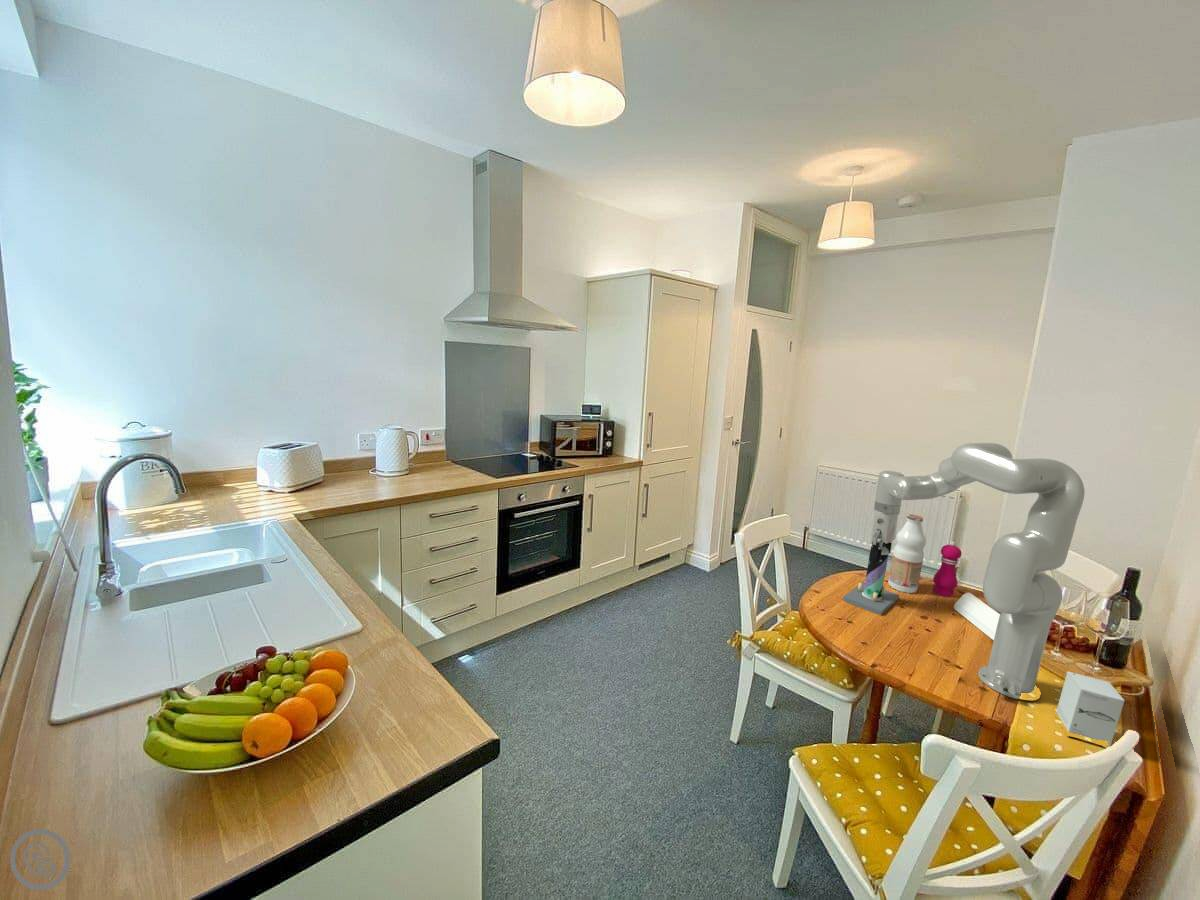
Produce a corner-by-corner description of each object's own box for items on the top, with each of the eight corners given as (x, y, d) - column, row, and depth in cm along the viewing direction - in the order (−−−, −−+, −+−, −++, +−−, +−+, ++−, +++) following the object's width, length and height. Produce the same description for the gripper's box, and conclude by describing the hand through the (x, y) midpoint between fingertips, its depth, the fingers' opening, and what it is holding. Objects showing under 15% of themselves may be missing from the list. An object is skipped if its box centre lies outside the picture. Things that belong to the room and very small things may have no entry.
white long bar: (945, 596, 163) (997, 636, 140) (966, 588, 162) (1022, 627, 138) (953, 614, 164) (1005, 657, 141) (974, 606, 163) (1030, 648, 139)
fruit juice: (887, 588, 175) (900, 516, 169) (887, 579, 183) (899, 510, 177) (917, 596, 170) (931, 522, 164) (916, 586, 178) (930, 515, 172)
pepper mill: (959, 598, 169) (970, 546, 165) (936, 596, 171) (947, 544, 167) (948, 589, 176) (959, 539, 172) (927, 586, 178) (937, 536, 174)
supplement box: (1066, 737, 107) (1079, 688, 104) (1053, 716, 113) (1066, 669, 111) (1110, 751, 103) (1126, 700, 101) (1095, 728, 110) (1109, 680, 107)
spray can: (859, 593, 167) (868, 539, 163) (869, 590, 169) (878, 538, 165) (874, 600, 162) (883, 545, 158) (884, 597, 164) (894, 543, 160)
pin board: (880, 615, 156) (882, 602, 155) (842, 600, 164) (844, 588, 163) (898, 598, 168) (900, 586, 167) (862, 585, 176) (864, 574, 175)
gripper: (890, 515, 151) (883, 565, 154) (907, 506, 162) (900, 553, 165) (865, 509, 156) (858, 558, 159) (883, 501, 168) (876, 546, 171)
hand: (879, 555), depth 162 cm, fingers open, 9 cm apart
